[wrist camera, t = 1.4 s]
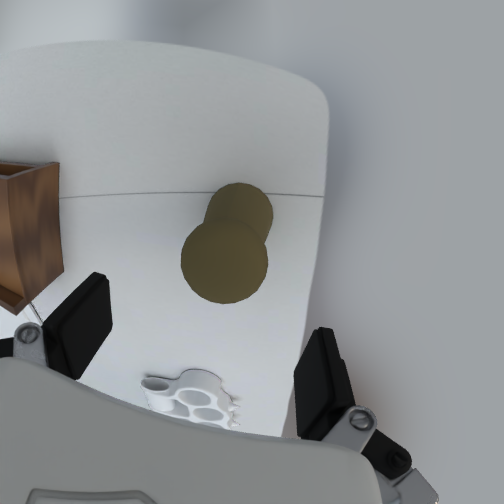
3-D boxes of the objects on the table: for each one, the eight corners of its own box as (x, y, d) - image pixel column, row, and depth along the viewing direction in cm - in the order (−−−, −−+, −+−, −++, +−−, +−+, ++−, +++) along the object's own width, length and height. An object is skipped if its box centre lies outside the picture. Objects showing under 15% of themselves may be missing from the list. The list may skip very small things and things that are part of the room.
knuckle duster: (139, 359, 34) (242, 373, 34) (163, 420, 42) (241, 431, 41) (131, 376, 31) (239, 393, 30) (158, 434, 39) (239, 446, 38)
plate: (-24, 222, 27) (-27, 223, 26) (72, 343, 34) (70, 346, 34) (-31, 297, 35) (-33, 299, 35) (41, 381, 43) (40, 383, 43)
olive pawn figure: (260, 254, 26) (255, 331, 16) (200, 234, 26) (159, 301, 16) (282, 195, 24) (292, 244, 14) (217, 174, 23) (177, 207, 13)
